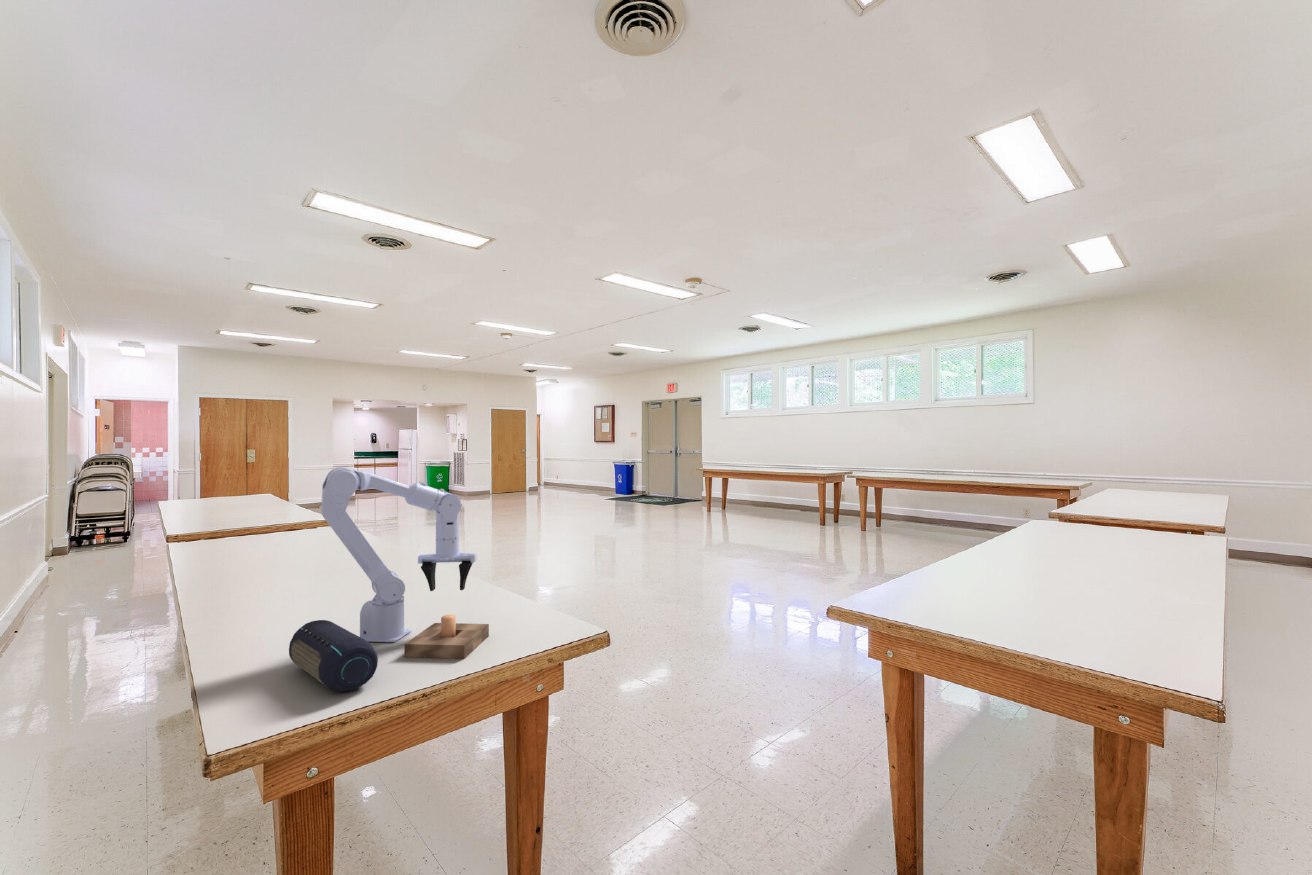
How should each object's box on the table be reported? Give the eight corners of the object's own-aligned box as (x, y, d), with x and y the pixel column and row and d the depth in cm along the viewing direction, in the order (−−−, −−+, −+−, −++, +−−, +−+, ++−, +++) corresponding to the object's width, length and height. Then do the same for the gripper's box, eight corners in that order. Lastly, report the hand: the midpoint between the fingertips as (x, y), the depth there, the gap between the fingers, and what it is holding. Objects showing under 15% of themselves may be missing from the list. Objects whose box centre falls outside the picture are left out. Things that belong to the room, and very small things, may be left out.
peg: (438, 648, 126) (438, 618, 126) (445, 643, 129) (445, 614, 129) (451, 649, 125) (451, 619, 125) (458, 643, 128) (458, 614, 129)
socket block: (404, 657, 121) (404, 643, 121) (434, 634, 135) (434, 622, 135) (464, 658, 120) (464, 645, 120) (488, 635, 134) (488, 623, 134)
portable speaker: (282, 669, 115) (282, 622, 115) (333, 654, 122) (333, 611, 123) (328, 705, 99) (328, 651, 99) (383, 686, 107) (383, 635, 107)
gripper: (413, 541, 137) (413, 594, 137) (471, 540, 138) (471, 593, 138) (423, 536, 144) (423, 587, 144) (478, 535, 145) (478, 585, 145)
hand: (447, 589), depth 142 cm, fingers open, 7 cm apart
